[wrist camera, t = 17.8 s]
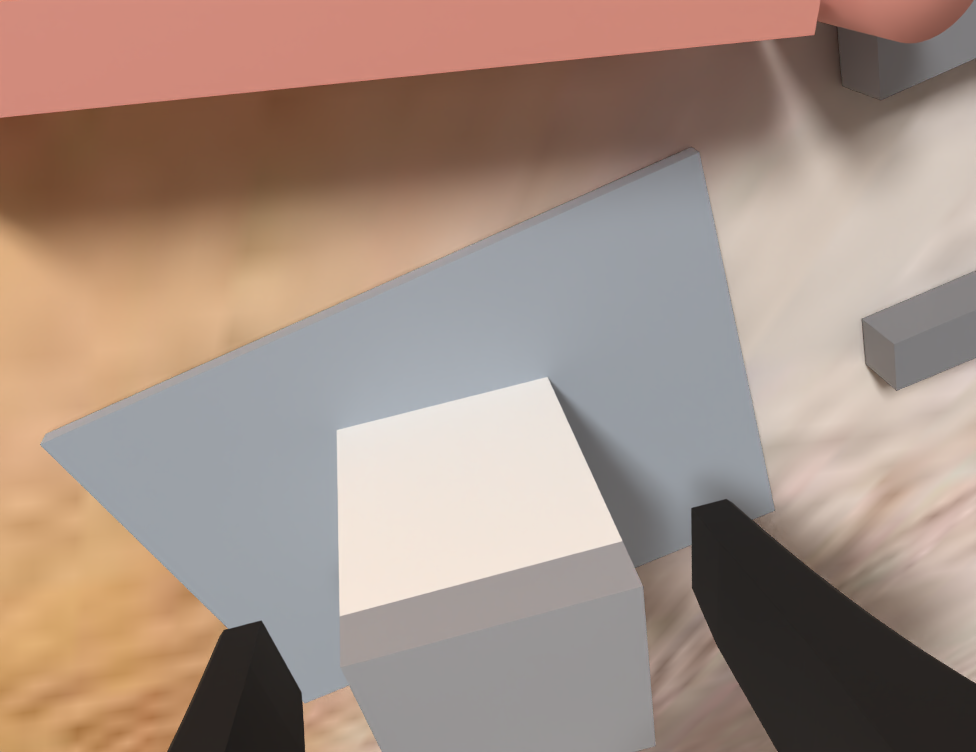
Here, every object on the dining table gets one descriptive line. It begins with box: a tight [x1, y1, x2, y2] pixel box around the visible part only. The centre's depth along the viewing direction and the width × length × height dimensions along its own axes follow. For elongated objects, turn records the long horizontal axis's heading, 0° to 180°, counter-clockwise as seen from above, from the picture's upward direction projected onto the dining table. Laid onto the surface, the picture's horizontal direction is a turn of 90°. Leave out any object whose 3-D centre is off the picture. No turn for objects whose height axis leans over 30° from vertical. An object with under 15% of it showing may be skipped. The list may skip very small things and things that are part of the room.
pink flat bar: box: [0, 0, 974, 118], centre depth 9 cm, size 1×14×3 cm, turn 93°
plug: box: [337, 377, 656, 752], centre depth 13 cm, size 4×4×5 cm
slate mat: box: [40, 147, 775, 703], centre depth 15 cm, size 12×9×1 cm
